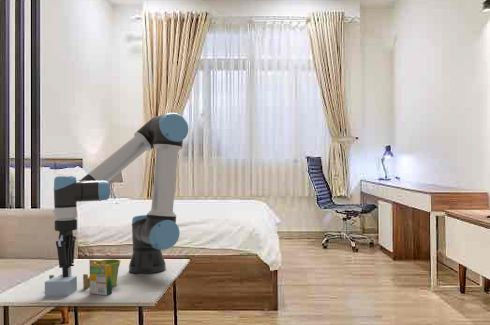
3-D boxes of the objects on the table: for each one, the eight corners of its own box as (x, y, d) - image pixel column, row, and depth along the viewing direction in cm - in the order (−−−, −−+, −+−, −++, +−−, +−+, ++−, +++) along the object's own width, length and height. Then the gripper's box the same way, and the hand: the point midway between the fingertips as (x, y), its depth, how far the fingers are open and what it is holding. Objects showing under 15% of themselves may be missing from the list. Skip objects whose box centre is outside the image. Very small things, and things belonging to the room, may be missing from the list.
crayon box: (112, 293, 168) (111, 259, 168) (106, 295, 165) (105, 260, 166) (95, 291, 171) (94, 258, 171) (89, 293, 169) (88, 259, 169)
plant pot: (126, 283, 183) (125, 259, 183) (111, 289, 174) (111, 264, 174) (105, 281, 186) (104, 258, 186) (89, 287, 177) (88, 263, 178)
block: (76, 290, 174) (76, 276, 174) (68, 296, 166) (68, 281, 166) (54, 290, 175) (54, 276, 175) (45, 296, 167) (44, 282, 167)
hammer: (99, 280, 189) (98, 267, 189) (87, 288, 176) (86, 274, 176) (63, 281, 190) (63, 268, 190) (48, 289, 176) (48, 275, 176)
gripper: (62, 217, 182) (63, 281, 182) (47, 221, 169) (49, 290, 169) (82, 217, 182) (83, 281, 182) (69, 220, 169) (70, 289, 169)
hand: (67, 285), depth 175 cm, fingers closed
